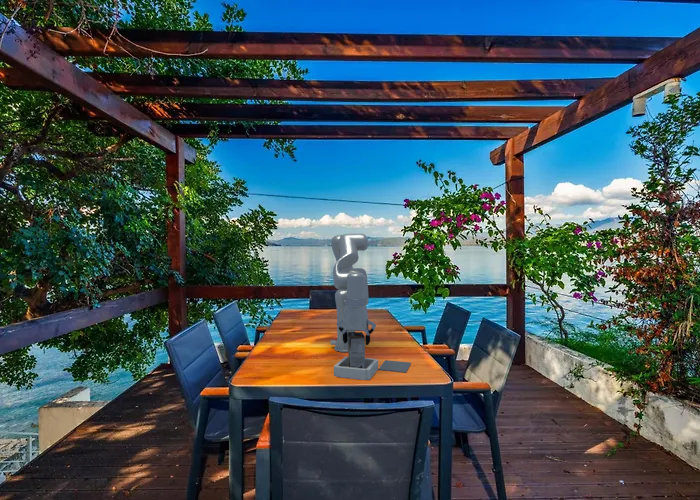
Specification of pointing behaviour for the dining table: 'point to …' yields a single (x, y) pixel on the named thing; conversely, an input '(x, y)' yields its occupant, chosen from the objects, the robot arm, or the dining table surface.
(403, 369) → the mat
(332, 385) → the dining table surface
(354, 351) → the coffee box
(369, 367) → the holder
